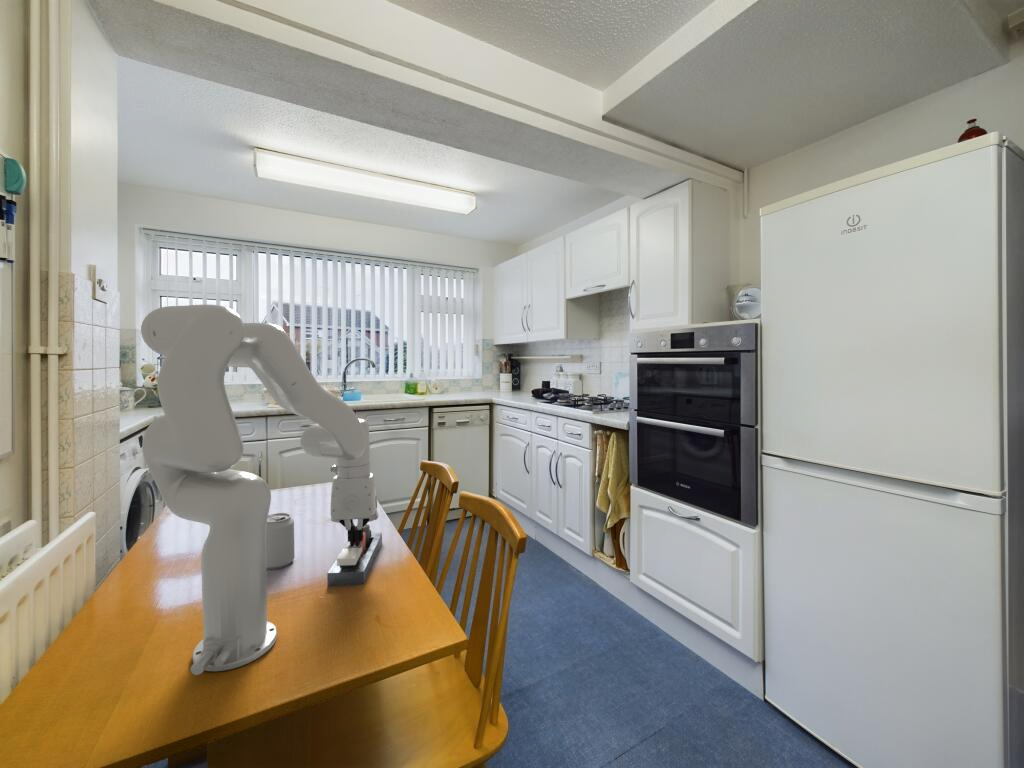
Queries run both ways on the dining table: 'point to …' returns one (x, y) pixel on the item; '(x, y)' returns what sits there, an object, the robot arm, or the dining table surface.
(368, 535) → the button
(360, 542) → the button
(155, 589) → the dining table surface
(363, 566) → the panel
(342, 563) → the block
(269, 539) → the can
